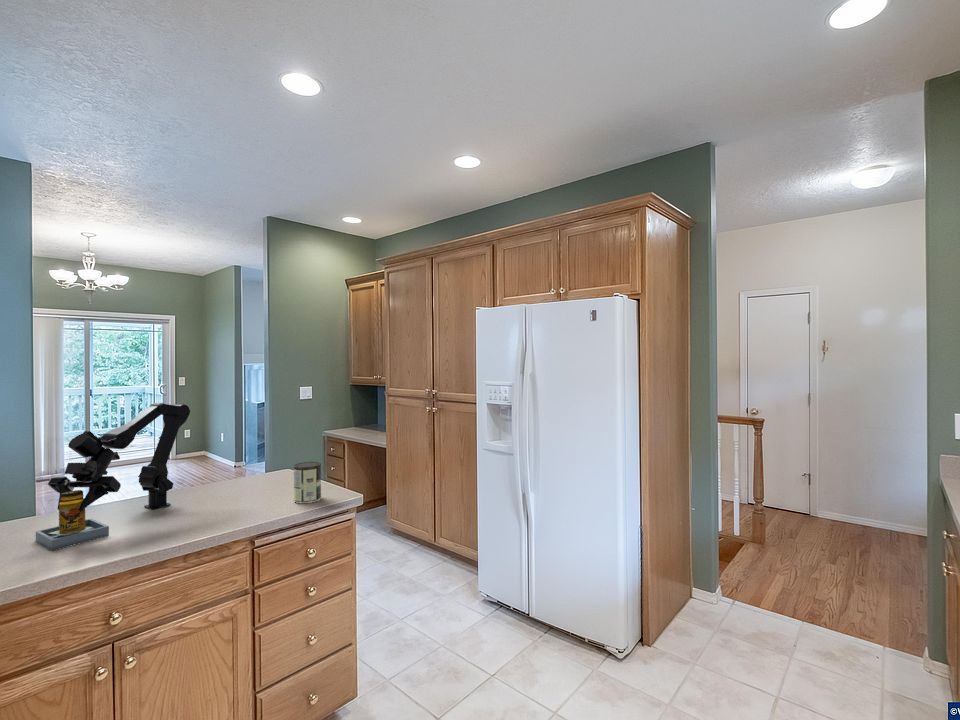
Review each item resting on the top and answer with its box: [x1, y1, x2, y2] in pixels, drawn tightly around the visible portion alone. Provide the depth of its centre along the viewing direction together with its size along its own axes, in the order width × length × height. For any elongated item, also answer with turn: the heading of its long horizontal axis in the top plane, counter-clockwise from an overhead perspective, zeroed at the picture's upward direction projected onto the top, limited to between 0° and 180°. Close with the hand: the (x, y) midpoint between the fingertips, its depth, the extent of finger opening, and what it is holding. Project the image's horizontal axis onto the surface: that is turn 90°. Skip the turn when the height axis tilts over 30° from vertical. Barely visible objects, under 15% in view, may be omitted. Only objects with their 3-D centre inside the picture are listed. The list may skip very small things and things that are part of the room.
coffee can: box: [292, 461, 322, 504], centre depth 182 cm, size 10×10×14 cm
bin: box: [35, 518, 110, 552], centre depth 142 cm, size 14×14×3 cm
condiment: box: [50, 489, 92, 535], centre depth 143 cm, size 7×8×12 cm
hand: (69, 509), depth 141 cm, fingers closed on condiment, 6 cm apart
